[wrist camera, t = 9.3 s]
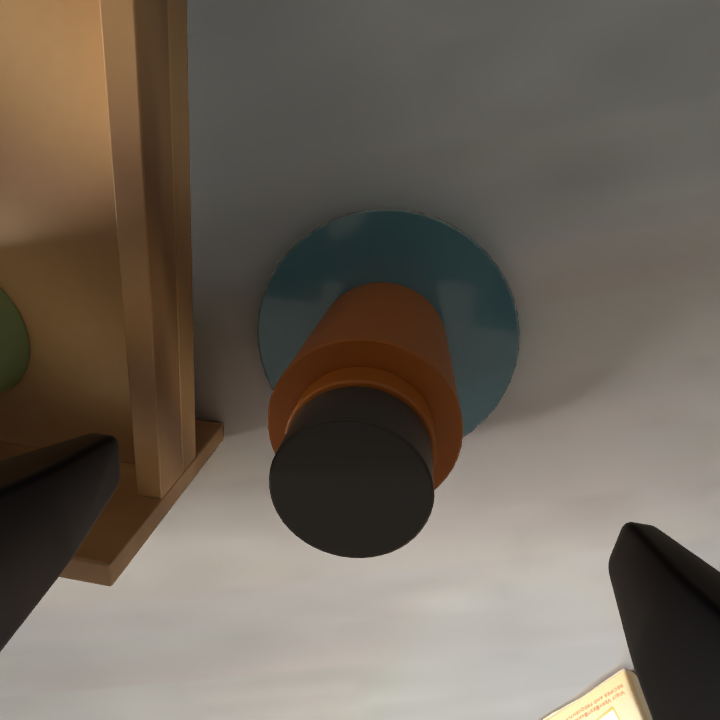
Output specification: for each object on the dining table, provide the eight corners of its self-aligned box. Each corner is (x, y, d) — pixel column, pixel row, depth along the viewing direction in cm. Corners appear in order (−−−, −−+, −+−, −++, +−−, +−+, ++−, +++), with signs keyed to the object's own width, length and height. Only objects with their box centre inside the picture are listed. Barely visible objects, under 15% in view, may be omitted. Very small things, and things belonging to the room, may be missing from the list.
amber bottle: (434, 411, 17) (450, 605, 9) (314, 393, 17) (229, 565, 9) (457, 291, 15) (500, 402, 7) (324, 273, 15) (231, 361, 8)
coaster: (484, 464, 18) (488, 476, 17) (260, 428, 19) (253, 439, 18) (544, 226, 15) (551, 228, 14) (269, 192, 15) (261, 192, 15)
